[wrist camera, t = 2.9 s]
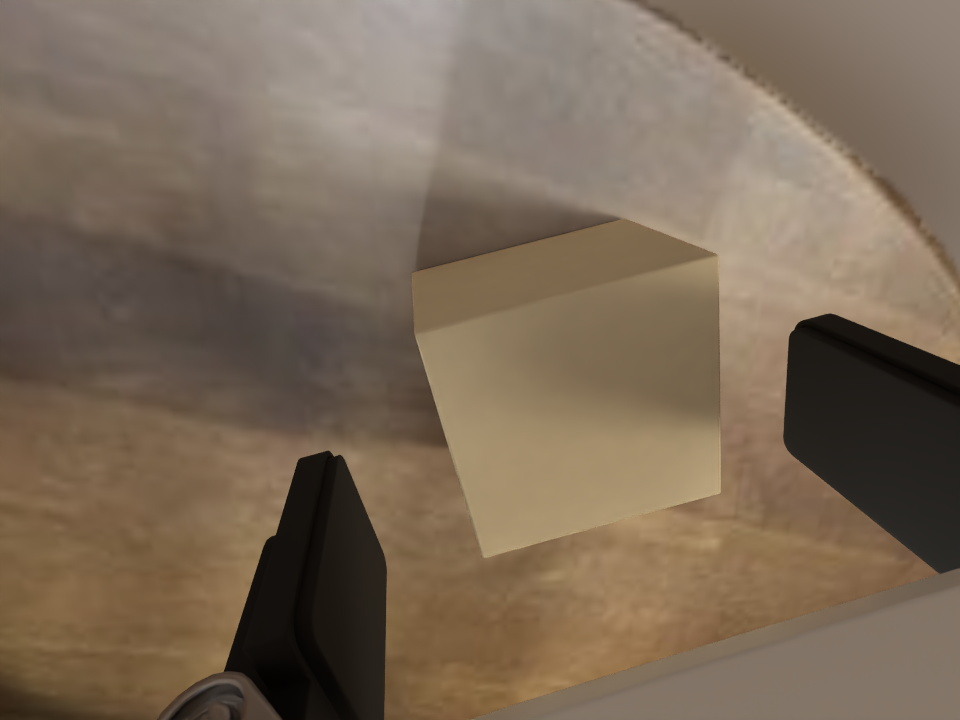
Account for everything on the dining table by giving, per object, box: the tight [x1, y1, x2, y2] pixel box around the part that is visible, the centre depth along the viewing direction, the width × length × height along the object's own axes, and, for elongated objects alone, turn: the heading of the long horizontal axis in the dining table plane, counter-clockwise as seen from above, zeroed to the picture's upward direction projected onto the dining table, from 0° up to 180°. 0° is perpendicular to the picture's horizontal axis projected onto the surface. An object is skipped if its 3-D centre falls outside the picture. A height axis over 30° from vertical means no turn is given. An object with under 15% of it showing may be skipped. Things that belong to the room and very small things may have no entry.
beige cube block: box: [411, 219, 721, 558], centre depth 13 cm, size 6×6×4 cm
